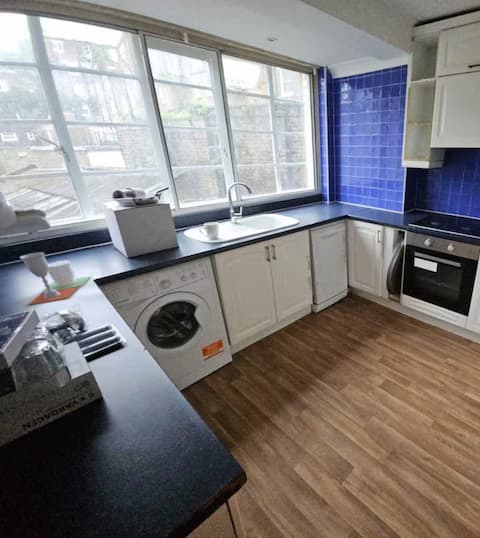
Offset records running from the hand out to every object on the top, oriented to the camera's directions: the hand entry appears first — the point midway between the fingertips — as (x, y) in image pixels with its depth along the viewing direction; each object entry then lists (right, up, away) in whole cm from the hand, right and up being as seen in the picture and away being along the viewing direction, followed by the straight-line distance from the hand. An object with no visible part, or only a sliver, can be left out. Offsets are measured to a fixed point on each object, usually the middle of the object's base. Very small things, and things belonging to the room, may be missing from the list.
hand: (13, 238), depth 98 cm
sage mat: (-17, -17, +35) cm, 43 cm away
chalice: (-13, -21, +25) cm, 35 cm away
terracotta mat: (-12, -21, +25) cm, 35 cm away
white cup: (-17, -17, +35) cm, 43 cm away
